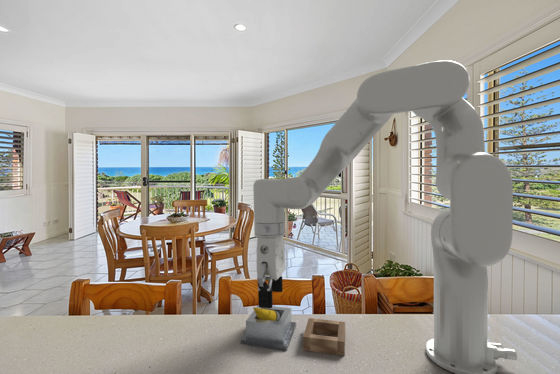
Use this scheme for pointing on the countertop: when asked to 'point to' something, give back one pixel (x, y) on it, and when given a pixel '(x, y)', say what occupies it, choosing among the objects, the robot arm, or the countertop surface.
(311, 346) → the socket block
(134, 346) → the countertop surface
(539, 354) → the countertop surface
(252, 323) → the grey hollow square block
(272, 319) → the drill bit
